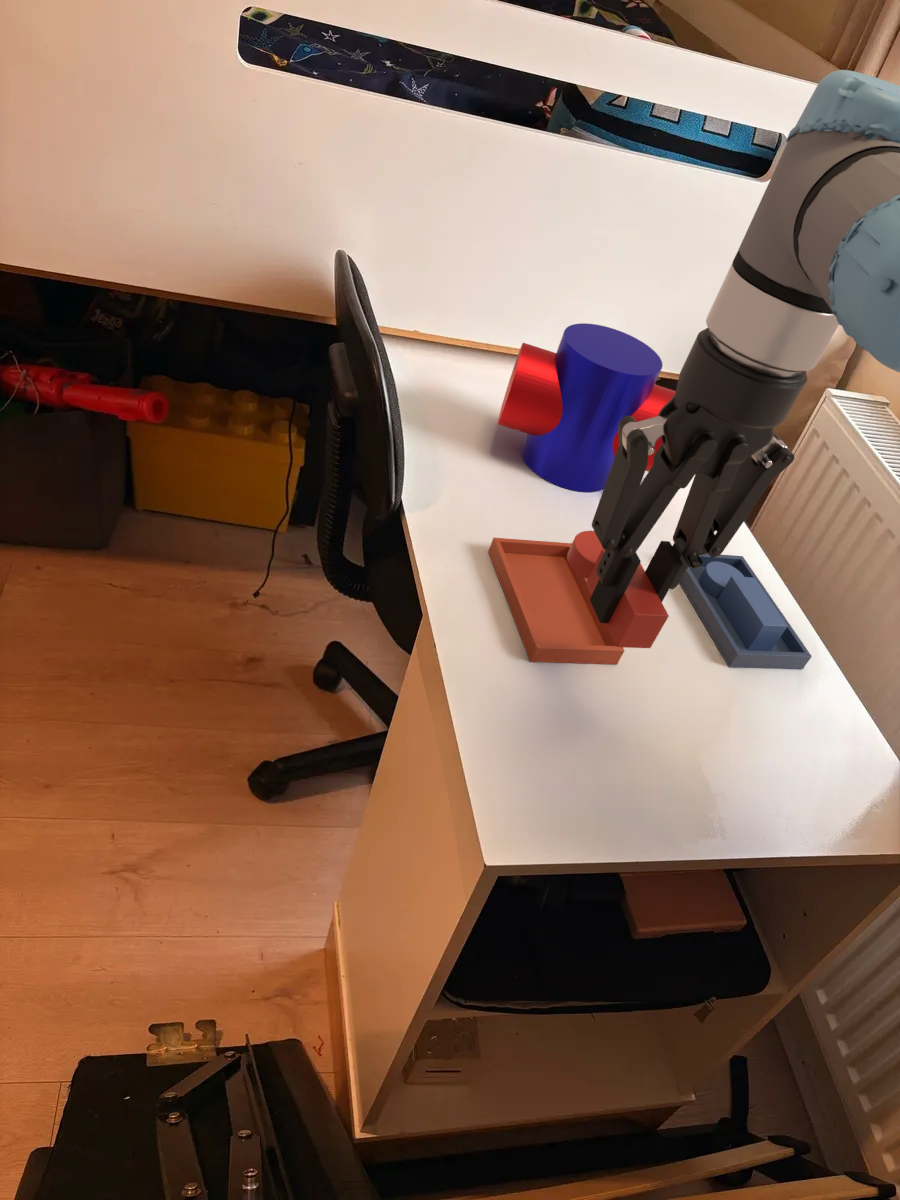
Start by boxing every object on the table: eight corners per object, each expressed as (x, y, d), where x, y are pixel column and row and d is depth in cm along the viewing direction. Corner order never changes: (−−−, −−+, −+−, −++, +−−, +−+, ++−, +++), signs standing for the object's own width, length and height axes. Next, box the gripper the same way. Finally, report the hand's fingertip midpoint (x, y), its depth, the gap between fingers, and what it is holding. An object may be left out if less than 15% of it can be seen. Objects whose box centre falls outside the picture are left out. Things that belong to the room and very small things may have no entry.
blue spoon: (778, 651, 94) (795, 626, 92) (740, 649, 93) (756, 624, 91) (728, 574, 103) (742, 550, 101) (692, 571, 102) (706, 547, 99)
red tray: (617, 664, 87) (624, 650, 85) (530, 662, 84) (536, 647, 82) (566, 556, 98) (572, 543, 97) (488, 551, 95) (493, 537, 94)
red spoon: (660, 648, 71) (679, 616, 69) (606, 647, 69) (624, 613, 67) (609, 548, 79) (624, 516, 77) (560, 544, 78) (574, 511, 76)
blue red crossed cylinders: (485, 463, 108) (526, 342, 98) (496, 418, 118) (534, 303, 108) (642, 512, 109) (698, 397, 99) (640, 463, 119) (691, 353, 109)
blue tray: (803, 669, 94) (812, 656, 93) (729, 667, 91) (737, 654, 90) (735, 568, 105) (742, 555, 104) (667, 563, 102) (674, 550, 101)
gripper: (827, 338, 63) (686, 586, 78) (626, 303, 58) (515, 576, 73) (886, 394, 58) (722, 648, 72) (670, 361, 52) (542, 642, 67)
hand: (619, 611), depth 72 cm, fingers closed on red spoon, 3 cm apart
